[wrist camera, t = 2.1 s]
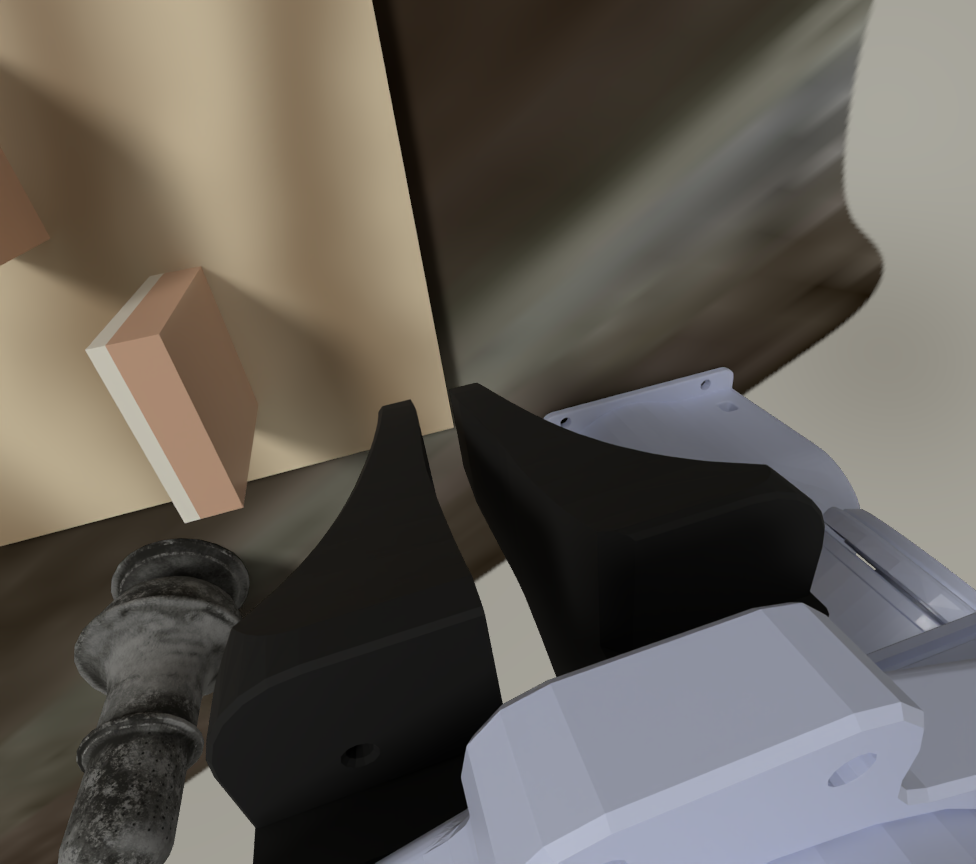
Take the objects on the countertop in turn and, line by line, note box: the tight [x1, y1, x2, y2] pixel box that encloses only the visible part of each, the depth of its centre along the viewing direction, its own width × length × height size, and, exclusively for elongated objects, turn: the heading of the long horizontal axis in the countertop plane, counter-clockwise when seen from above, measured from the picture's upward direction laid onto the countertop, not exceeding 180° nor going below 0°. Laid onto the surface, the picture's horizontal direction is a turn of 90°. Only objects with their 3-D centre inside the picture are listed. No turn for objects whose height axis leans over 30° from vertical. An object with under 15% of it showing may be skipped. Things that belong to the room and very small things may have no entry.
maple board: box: [0, 0, 454, 546], centre depth 17 cm, size 18×16×1 cm
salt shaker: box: [58, 538, 250, 864], centre depth 19 cm, size 6×6×12 cm
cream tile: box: [85, 266, 258, 523], centre depth 16 cm, size 2×5×6 cm, turn 7°
